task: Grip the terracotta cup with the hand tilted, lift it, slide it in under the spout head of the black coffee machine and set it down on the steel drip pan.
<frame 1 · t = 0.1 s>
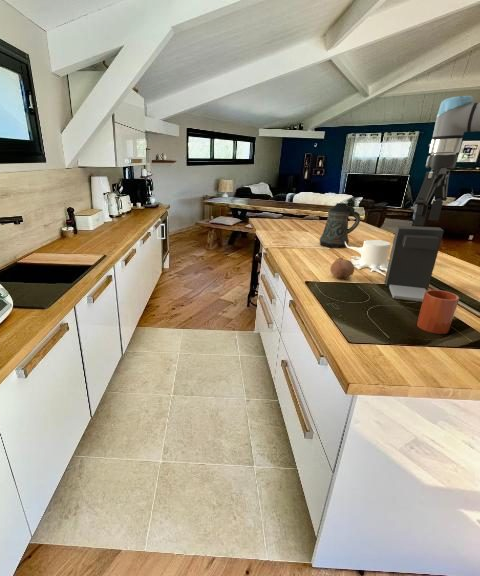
hand: (425, 222, 105), 28 cm above the table, tool pointing down, fingers open, 13 cm apart
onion: (340, 278, 139), on the table
tree stump: (371, 264, 155), on the table
beer stein: (335, 245, 192), on the table
terracotta cup: (432, 327, 97), on the table
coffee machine: (407, 291, 123), on the table
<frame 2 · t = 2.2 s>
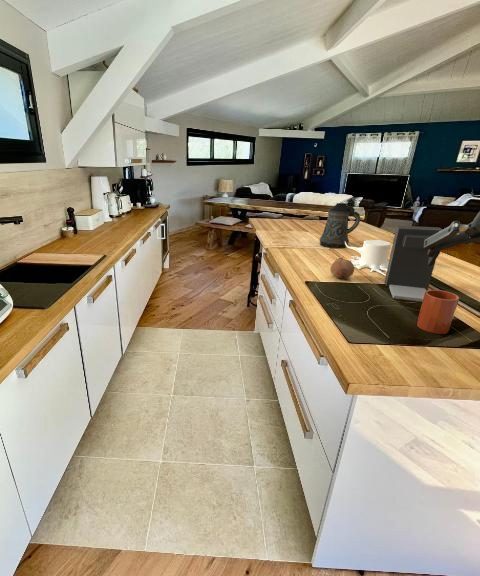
hand: (461, 265, 81), 23 cm above the table, tool tilted 45°, fingers open, 13 cm apart
nothing on the table moved.
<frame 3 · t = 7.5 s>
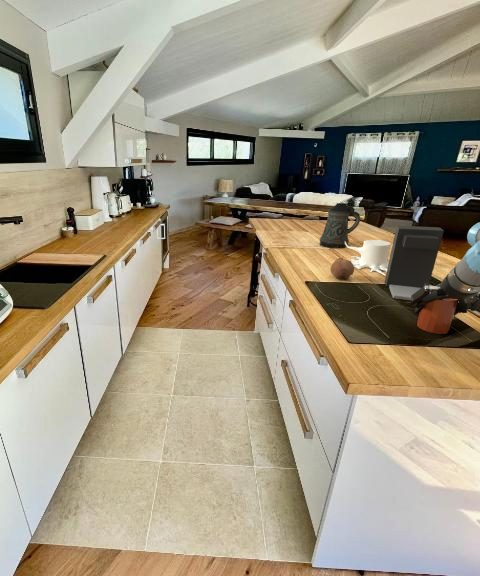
hand: (432, 311, 98), 4 cm above the table, tool tilted 45°, fingers closed on terracotta cup, 8 cm apart
terracotta cup: (432, 327, 96), on the table, touching gripper
everything else where it was.
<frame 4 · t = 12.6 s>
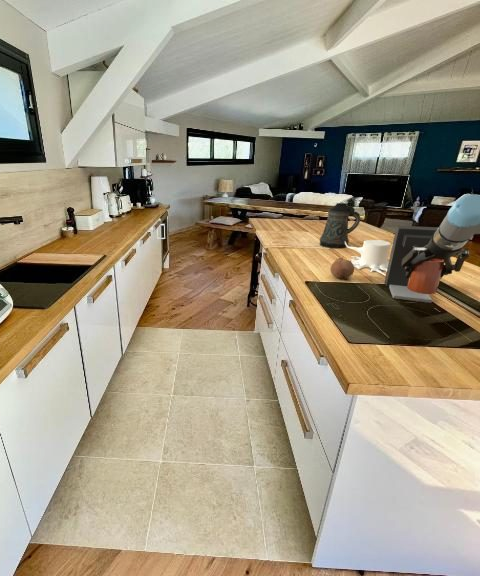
hand: (421, 275, 107), 11 cm above the table, tool tilted 45°, fingers closed on terracotta cup, 8 cm apart
terracotta cup: (421, 289, 105), point 7 cm above the table, touching gripper
everything else where it was.
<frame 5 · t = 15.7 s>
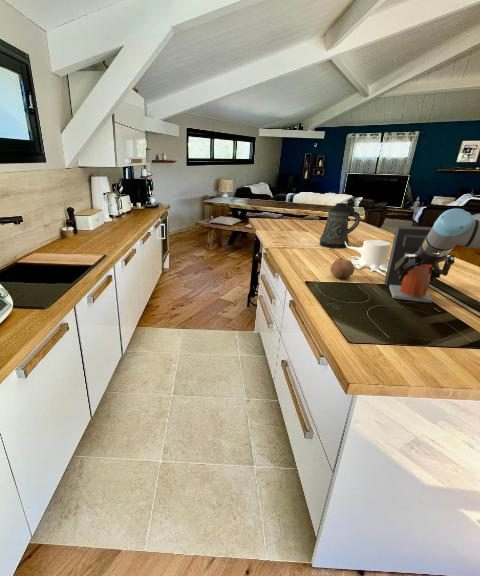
hand: (413, 279, 117), 7 cm above the table, tool tilted 45°, fingers closed on terracotta cup, 8 cm apart
terracotta cup: (412, 292, 115), point 3 cm above the table, touching gripper
everything else where it was.
when the fingers open (5 cm above the table, at t = 17.8 s): terracotta cup stays where it is, resting on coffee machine.
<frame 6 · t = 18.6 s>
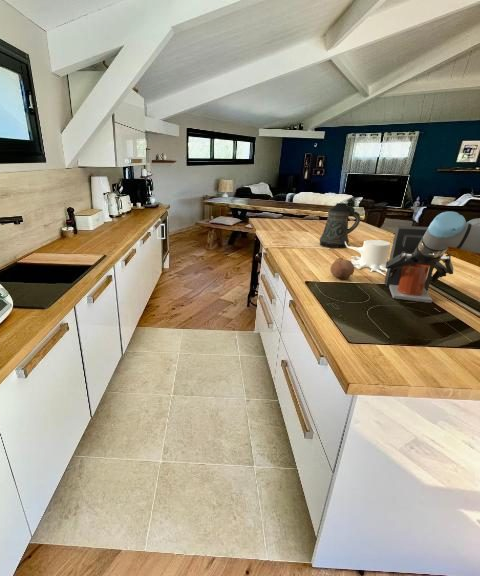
hand: (411, 277, 120), 6 cm above the table, tool tilted 45°, fingers open, 13 cm apart
terracotta cup: (409, 291, 120), point 1 cm above the table, touching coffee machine
everything else where it was.
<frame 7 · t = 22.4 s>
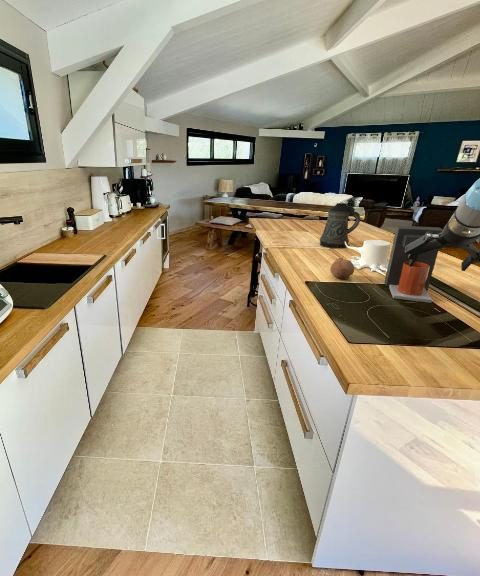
hand: (435, 264, 99), 17 cm above the table, tool tilted 45°, fingers open, 13 cm apart
nothing on the table moved.
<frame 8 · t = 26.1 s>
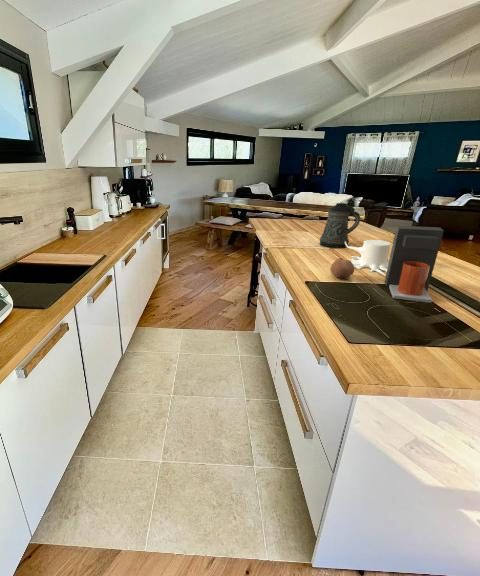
nothing on the table moved.
at the end: terracotta cup 0.0 cm from the target spot on the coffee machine, point 1.2 cm above the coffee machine's base; terracotta cup tilted 0°; the gripper is holding nothing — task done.
